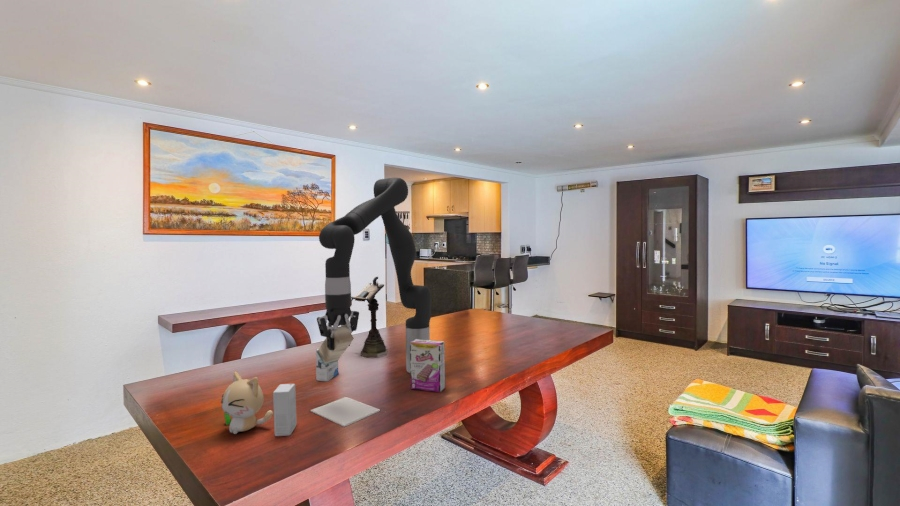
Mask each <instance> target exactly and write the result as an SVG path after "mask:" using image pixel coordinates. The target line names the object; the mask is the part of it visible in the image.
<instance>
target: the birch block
mask: <svg viewBox="0 0 900 506" xmlns="http://www.w3.org/2000/svg"><path fill="white" fill-rule="evenodd" d="M330 333H331V331H330ZM333 338H334V345H335V349H334V350H329V349H328V348H327V338H326V337H325V339H324V341H322V343H321V344H320V346H319V347H318V348H319V349H318V348H317V349H318V351H317V353H318V355H319V357H320V359H321V361H322V363H323V365H326V364H330V363H333V362H336V361H338V362H339V360H340V359H341V357H342V356H343V354H344V353H345V351H346V350H347V349H348V347H350V346H351V344H352V342H353V341H354V338H355V337H354V336H353V333H350V331H349V329H347V328H346V327H345V326H341V325H340V326H338V328H337V330H336V331H335V332H334V337H333ZM350 343H351V344H350ZM349 345H350V346H349Z"/></svg>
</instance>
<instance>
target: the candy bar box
mask: <svg viewBox="0 0 900 506" xmlns="http://www.w3.org/2000/svg"><path fill="white" fill-rule="evenodd" d="M445 344H446V343H445V341H442V340H431V339H430V340H421V339H415V340H413V341H411V342H410V370H411V373H410V390H411V389H412V390H418V391H426V392H435V393H442V391H443V390H444V389H446V371H445V370H446V365H445V362H446V361H445V359H446V357H445V355H446V352H445V351H446V347H445V346H446V345H445Z"/></svg>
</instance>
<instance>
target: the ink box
mask: <svg viewBox="0 0 900 506" xmlns="http://www.w3.org/2000/svg"><path fill="white" fill-rule="evenodd" d="M319 348H320V347H318V348H317V349H315V365H316V366H315V367H316V368H315V371H316V372H315V380H316V381H320V382H329V381H330V380H332V379H333V378H334V377H336V376H338V374H339V360H338V361H336V362H333V363H330V364H326V365H323V363H322V361H321V359H320V357H319V355H318V353H317V351H318V349H319Z"/></svg>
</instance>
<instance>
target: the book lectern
mask: <svg viewBox="0 0 900 506" xmlns="http://www.w3.org/2000/svg"><path fill="white" fill-rule="evenodd" d="M377 280H379V276H374V278H373V279H372V282H368V283H367V284H366V285H365V286H364V288H363V289H362V290H361V291H359V293H357V295H355V296H351V302H353V300H354V301H357V302H365V301H367V303H368V304H367V306H368V307H367V308H368V311H370V320H369V321H370V330H369V331H368V335H367V337H366V339H365V341H363V346H362V349H361V350H360V356H361V357H364V358H373V359H374V358H380V357H384V356H387V354H388V348H387V346H386V344H385V340H384V339H383V337H382V336H381V334H380V330H379V329H378V328H377V320H378V319H377V311H378V310H379V305H380V304H379V301H378V300H377V298H375V297H376V295H377V294H378V293H379V292H380V291H381V290H382V289H383V288H384V286H385V283H384V284H383V283H379V281H377Z"/></svg>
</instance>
